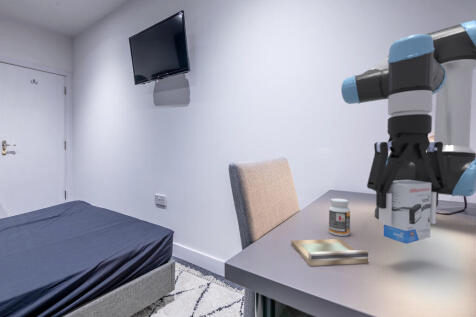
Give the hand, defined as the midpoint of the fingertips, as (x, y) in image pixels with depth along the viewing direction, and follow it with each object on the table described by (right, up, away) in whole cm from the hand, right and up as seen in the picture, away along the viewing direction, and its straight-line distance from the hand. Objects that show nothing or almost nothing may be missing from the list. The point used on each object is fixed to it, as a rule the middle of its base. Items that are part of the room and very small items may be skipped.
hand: (406, 222), depth 52 cm
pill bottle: (-6, -9, +21) cm, 23 cm away
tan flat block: (-15, -9, +6) cm, 18 cm away
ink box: (0, -3, 0) cm, 3 cm away
